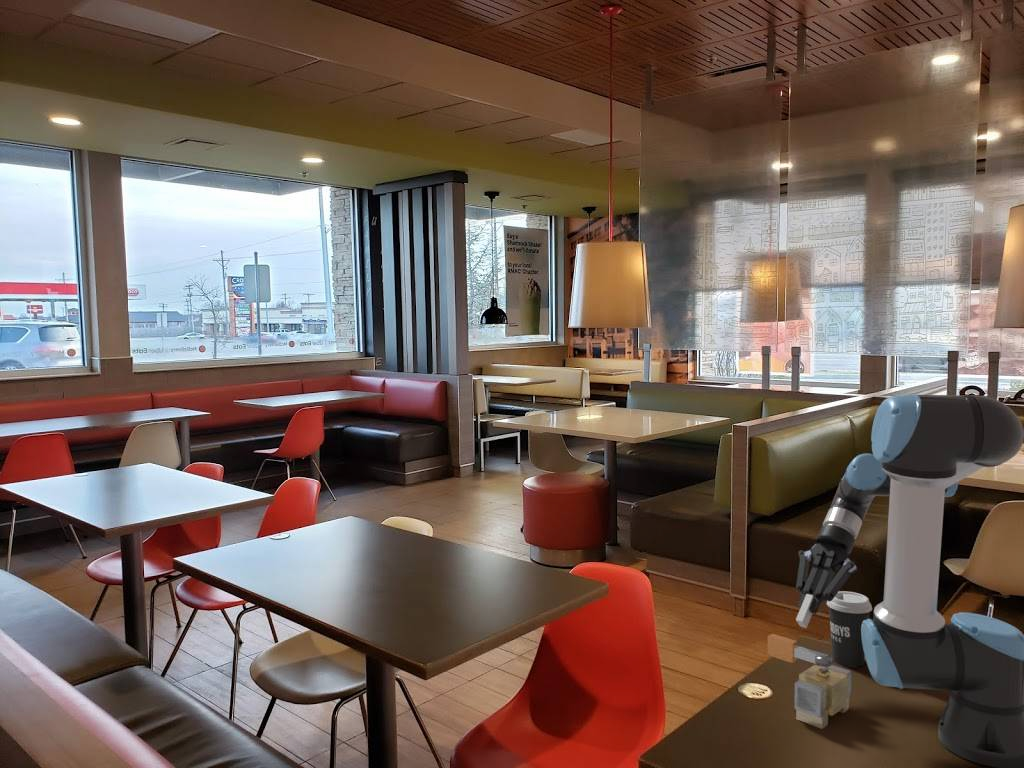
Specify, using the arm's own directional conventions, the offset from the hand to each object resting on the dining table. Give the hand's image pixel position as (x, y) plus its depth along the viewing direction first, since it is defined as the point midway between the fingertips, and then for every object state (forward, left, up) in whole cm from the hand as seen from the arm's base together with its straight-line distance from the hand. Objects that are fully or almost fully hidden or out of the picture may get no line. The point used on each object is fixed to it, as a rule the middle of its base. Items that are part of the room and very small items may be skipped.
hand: (801, 623), depth 166 cm
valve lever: (-7, +6, -5) cm, 11 cm away
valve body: (-12, +5, -13) cm, 18 cm away
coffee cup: (+6, -18, -14) cm, 24 cm away
